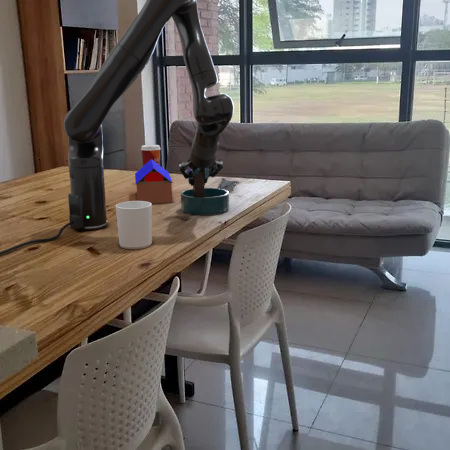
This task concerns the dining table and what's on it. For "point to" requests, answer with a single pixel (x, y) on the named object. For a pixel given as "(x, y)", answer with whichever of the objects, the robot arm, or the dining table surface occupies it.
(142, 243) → the mug
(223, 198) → the bowl
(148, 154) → the paper cup
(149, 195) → the house
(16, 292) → the dining table surface
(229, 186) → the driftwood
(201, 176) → the brown rectangular block
